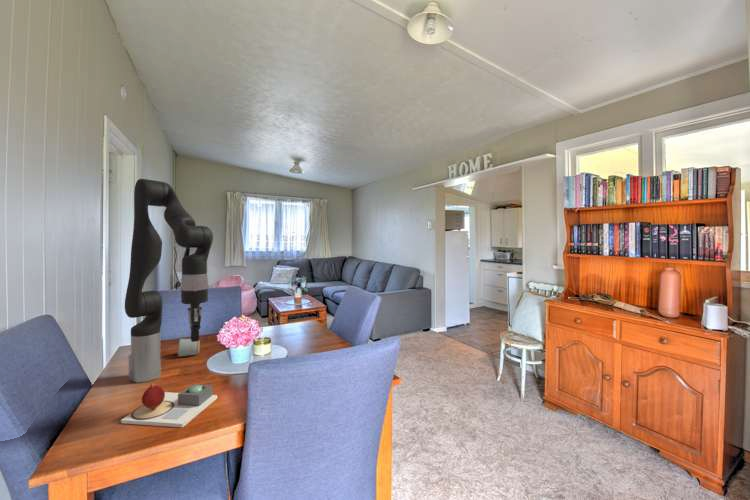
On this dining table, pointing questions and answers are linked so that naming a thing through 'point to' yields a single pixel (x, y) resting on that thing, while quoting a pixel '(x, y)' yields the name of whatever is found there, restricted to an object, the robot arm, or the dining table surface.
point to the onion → (153, 396)
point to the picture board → (167, 412)
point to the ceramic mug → (188, 347)
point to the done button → (195, 389)
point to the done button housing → (194, 396)
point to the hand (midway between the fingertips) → (195, 340)
